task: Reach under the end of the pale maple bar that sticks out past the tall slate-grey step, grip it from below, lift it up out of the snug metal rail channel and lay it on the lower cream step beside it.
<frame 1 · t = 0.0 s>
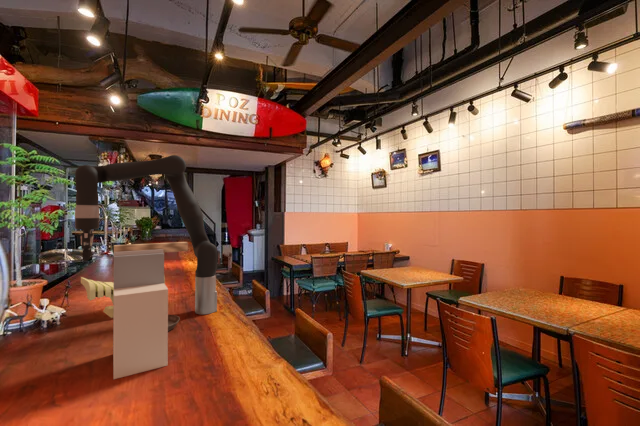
hand: (87, 258, 118), 29 cm above the worktop, fingers open, 8 cm apart
maple bar: (152, 252, 103), point 34 cm above the worktop, touching stepped stand
stepped stand: (139, 359, 98), on the worktop
slatted curved stool: (124, 312, 142), on the worktop
plant saucer: (156, 329, 123), on the worktop
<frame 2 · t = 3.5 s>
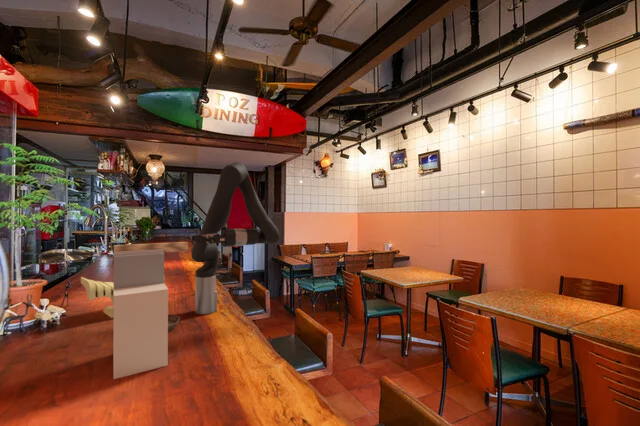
hand: (193, 239, 119), 37 cm above the worktop, fingers open, 8 cm apart
nothing on the worktop moved.
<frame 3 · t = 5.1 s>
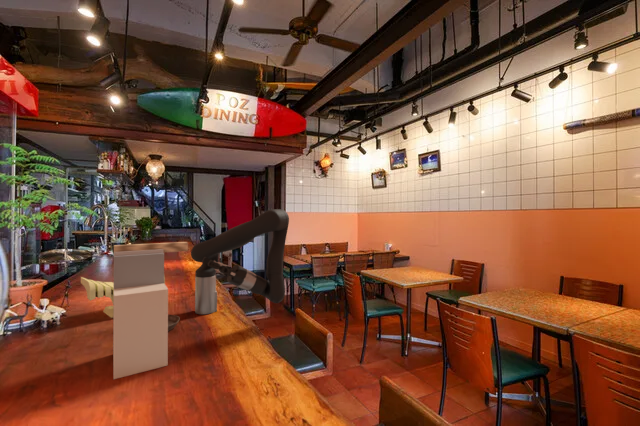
hand: (206, 260, 113), 30 cm above the worktop, fingers open, 8 cm apart
nothing on the worktop moved.
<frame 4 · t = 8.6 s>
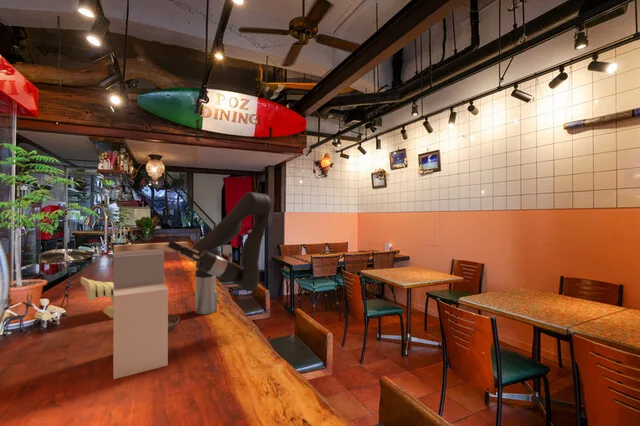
hand: (168, 243, 106), 37 cm above the worktop, fingers closed on maple bar, 3 cm apart
maple bar: (152, 252, 103), point 34 cm above the worktop, touching gripper, stepped stand
everything else where it was.
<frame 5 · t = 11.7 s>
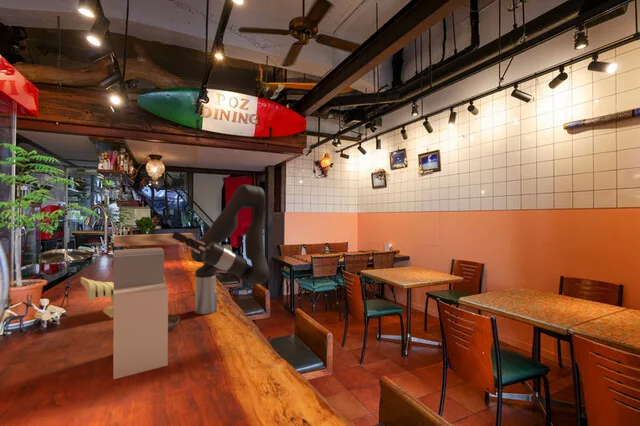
hand: (173, 234, 99), 41 cm above the worktop, fingers closed on maple bar, 3 cm apart
maple bar: (155, 243, 96), point 38 cm above the worktop, touching gripper
everything else where it was.
when the fingers open (28 cm above the worktop, at t = 14.9 s): maple bar drops 1 cm, resting on stepped stand.
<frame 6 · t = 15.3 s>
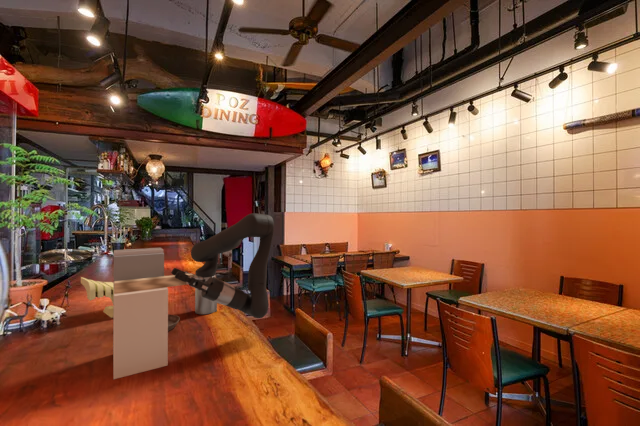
hand: (174, 272, 99), 28 cm above the worktop, fingers open, 6 cm apart
maple bar: (155, 287, 96), point 24 cm above the worktop, touching stepped stand
everything else where it was.
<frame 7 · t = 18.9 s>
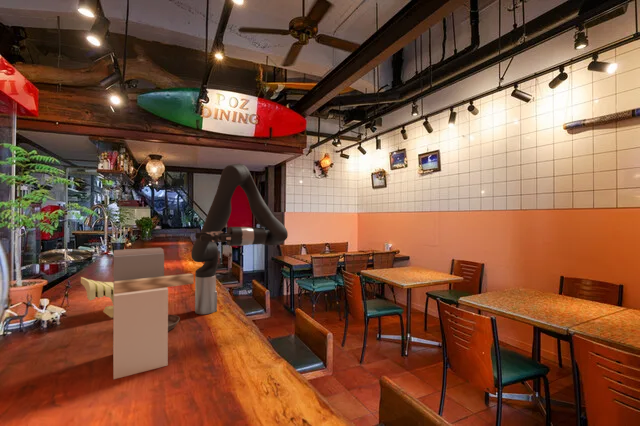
hand: (197, 236, 112), 39 cm above the worktop, fingers open, 8 cm apart
nothing on the worktop moved.
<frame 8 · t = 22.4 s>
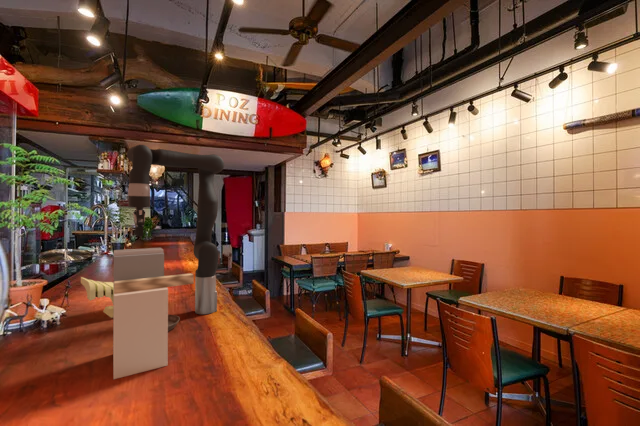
hand: (139, 235, 121), 38 cm above the worktop, fingers open, 8 cm apart
nothing on the worktop moved.
at the end: maple bar inside the target area (0.1 cm from its centre), point 24.0 cm above the worktop; maple bar tilted 0°; the gripper is holding nothing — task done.
